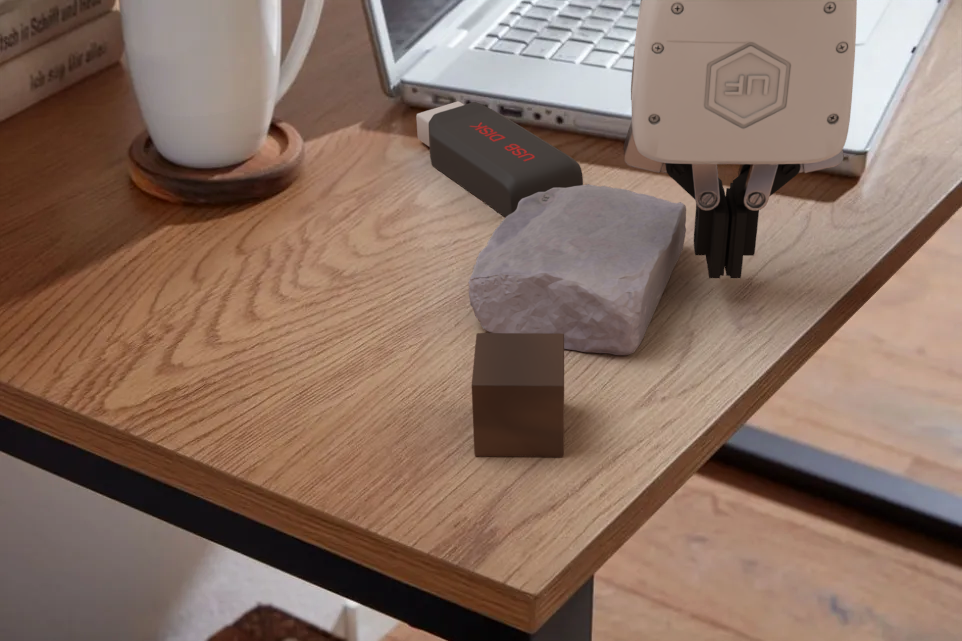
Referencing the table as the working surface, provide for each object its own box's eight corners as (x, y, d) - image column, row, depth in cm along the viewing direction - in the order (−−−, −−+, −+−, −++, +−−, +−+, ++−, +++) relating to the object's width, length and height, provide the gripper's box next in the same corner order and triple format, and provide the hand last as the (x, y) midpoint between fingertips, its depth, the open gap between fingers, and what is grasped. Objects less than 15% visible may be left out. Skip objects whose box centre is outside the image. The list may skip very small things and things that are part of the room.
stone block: (462, 363, 69) (651, 363, 65) (442, 281, 66) (637, 276, 63) (531, 256, 78) (700, 250, 74) (515, 181, 76) (688, 171, 72)
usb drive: (511, 221, 77) (510, 179, 76) (405, 146, 86) (402, 107, 84) (583, 195, 80) (584, 154, 78) (473, 125, 88) (471, 86, 87)
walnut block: (563, 402, 63) (564, 332, 61) (563, 457, 60) (564, 385, 57) (479, 402, 63) (476, 332, 61) (474, 456, 60) (471, 384, 58)
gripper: (586, -58, 57) (579, 303, 67) (943, -61, 56) (881, 305, 66) (584, -109, 63) (578, 228, 73) (905, -112, 62) (853, 229, 73)
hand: (722, 264), depth 70 cm, fingers closed
